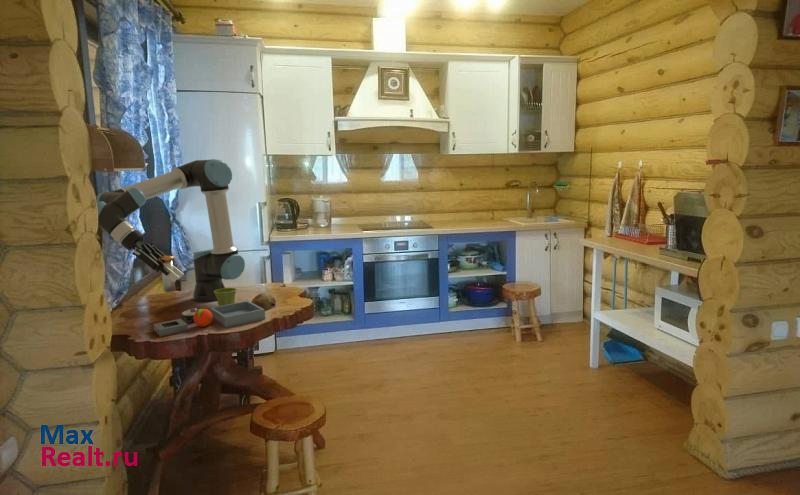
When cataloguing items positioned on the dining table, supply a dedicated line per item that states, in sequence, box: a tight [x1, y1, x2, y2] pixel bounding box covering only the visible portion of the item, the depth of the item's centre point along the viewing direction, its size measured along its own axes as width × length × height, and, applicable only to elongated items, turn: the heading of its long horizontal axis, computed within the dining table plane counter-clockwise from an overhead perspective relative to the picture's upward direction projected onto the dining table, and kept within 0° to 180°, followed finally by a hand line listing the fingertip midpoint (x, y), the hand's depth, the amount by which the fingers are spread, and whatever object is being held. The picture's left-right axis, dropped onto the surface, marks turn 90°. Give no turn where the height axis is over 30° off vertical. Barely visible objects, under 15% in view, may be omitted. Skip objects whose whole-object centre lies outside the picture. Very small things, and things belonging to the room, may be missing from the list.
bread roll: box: [251, 292, 277, 310], centre depth 213 cm, size 10×10×8 cm
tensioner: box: [153, 307, 201, 338], centre depth 191 cm, size 18×20×4 cm
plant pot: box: [214, 287, 238, 306], centre depth 211 cm, size 9×9×9 cm
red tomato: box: [193, 307, 214, 327], centre depth 188 cm, size 8×7×7 cm
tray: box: [209, 300, 266, 328], centre depth 198 cm, size 18×16×4 cm
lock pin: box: [158, 255, 176, 293], centre depth 182 cm, size 5×5×13 cm
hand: (178, 278), depth 182 cm, fingers closed on lock pin, 4 cm apart
